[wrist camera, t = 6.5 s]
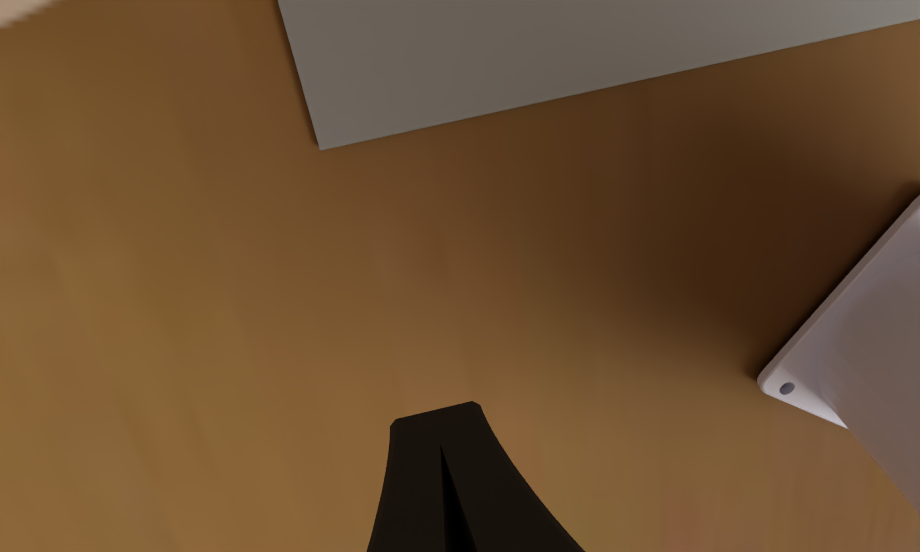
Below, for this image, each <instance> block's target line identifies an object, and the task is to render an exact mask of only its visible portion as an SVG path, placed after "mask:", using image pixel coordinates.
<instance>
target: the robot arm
mask: <svg viewBox="0 0 920 552" xmlns="http://www.w3.org/2000/svg"><path fill="white" fill-rule="evenodd" d="M785 383H787V384H785ZM757 384H758V386H759V387H760V389H761V390H762V391H763V392H764V393H765V394H767V395H769V396H772V397H774V398H776V399H779V400H781V401H783V402H786V403H788V404H790V405H793V406H795V407H797V408H800V409H802V410H804V411H807V412H809V413H811V414H814V415H816V416H819V417H821V418H823V419H826V420H828V421H830V422H833V423H835V424H837V425H840V426H842V427H844V428H847V429H849V430H850V431H851V433H852V434H853V435H854V436H855V437H856V439H857V440H858V441H859V442H860V443H861V445H862V446H863V447H864V448H865V450H866V451H867V452H868V453H869V454H870V456H871V457H872V458H873V459H874V460H875V462H876V463H877V464H878V465H879V466H880V468H881V469H882V470H883V471H884V473H885V474H886V475H887V476H888V477H889V479H890V480H891V481H892V482H893V483H894V485H895V486H896V487H897V488H898V489H899V491H900V492H901V493H902V494H903V496H904V497H905V498H906V499H907V500H908V502H909V503H910V504H911V505H912V506H913V508H914V509H915V510H916V511H917V512H918V514H919V515H920V195H919V196H918V197H917V198H916V199H915V200H914V201H913V202H912V203H911V204H910V205H909V206H908V208H907V209H906V210H905V211H904V212H903V213H902V214H901V215H900V217H899V218H898V219H897V220H896V221H895V222H894V223H893V224H892V226H891V227H890V228H889V229H888V230H887V231H886V232H885V233H884V235H883V236H882V237H881V238H880V239H879V240H878V241H877V242H876V243H875V245H874V246H873V247H872V248H871V249H870V250H869V251H868V252H867V254H866V255H865V256H864V257H863V258H862V259H861V260H860V261H859V263H858V264H857V265H856V266H855V267H854V268H853V269H852V270H851V272H850V273H849V274H848V275H847V276H846V277H845V278H844V279H843V281H842V282H841V283H840V284H839V285H838V286H837V287H836V288H835V290H834V291H833V292H832V293H831V294H830V295H829V296H828V297H827V299H826V300H825V301H824V302H823V303H822V304H821V305H820V306H819V308H818V309H817V310H816V311H815V312H814V313H813V314H812V315H811V317H810V318H809V319H808V320H807V321H806V322H805V323H804V324H803V325H802V327H801V328H800V329H799V330H798V331H797V332H796V333H795V334H794V336H793V337H792V338H791V339H790V340H789V341H788V342H787V343H786V345H785V346H784V347H783V348H782V349H781V350H780V351H779V352H778V354H777V355H776V356H775V357H774V358H773V359H772V360H771V361H770V363H769V364H768V365H767V366H766V367H765V368H764V369H763V370H762V372H761V373H760V374H759V376H758V378H757ZM784 384H785V385H784ZM782 385H784V386H782ZM781 386H782V387H781ZM367 552H585V551H584V550H583V549H582V548H581V547H580V546H579V545H578V544H577V542H576V541H575V540H574V539H573V538H572V537H571V536H570V535H569V534H568V532H567V531H566V530H565V529H564V528H563V527H562V525H561V524H560V523H559V522H558V521H557V520H556V519H555V517H554V516H553V515H552V514H551V513H550V511H549V510H548V509H547V508H546V507H545V505H544V504H543V503H542V502H541V500H540V499H539V498H538V496H537V495H536V494H535V493H534V491H533V490H532V489H531V487H530V486H529V485H528V483H527V482H526V481H525V479H524V478H523V477H522V475H521V474H520V473H519V471H518V470H517V468H516V467H515V466H514V464H513V463H512V461H511V460H510V458H509V457H508V455H507V454H506V452H505V451H504V449H503V448H502V446H501V444H500V443H499V441H498V440H497V438H496V436H495V435H494V433H493V431H492V429H491V427H490V426H489V424H488V422H487V420H486V417H485V415H484V413H483V411H482V408H481V406H480V405H479V404H477V403H475V402H473V401H471V402H466V403H462V404H458V405H454V406H449V407H445V408H441V409H437V410H433V411H428V412H424V413H420V414H416V415H412V416H407V417H403V418H399V419H396V420H395V421H394V422H393V423H392V425H391V426H390V443H389V452H388V460H387V467H386V472H385V478H384V483H383V489H382V493H381V498H380V502H379V506H378V510H377V514H376V519H375V523H374V527H373V531H372V535H371V538H370V542H369V545H368V549H367Z"/></svg>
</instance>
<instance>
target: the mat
mask: <svg viewBox="0 0 920 552" xmlns="http://www.w3.org/2000/svg"><path fill="white" fill-rule="evenodd" d="M278 3H279V7H280V10H281V14H282V17H283V21H284V25H285V28H286V32H287V35H288V39H289V42H290V46H291V49H292V53H293V56H294V60H295V63H296V67H297V70H298V74H299V78H300V81H301V85H302V88H303V92H304V95H305V99H306V102H307V106H308V109H309V113H310V116H311V120H312V124H313V127H314V131H315V134H316V138H317V141H318V145H319V148H320V151H321V150H326V149H330V148H335V147H339V146H344V145H348V144H353V143H357V142H362V141H366V140H371V139H376V138H380V137H385V136H389V135H394V134H398V133H403V132H407V131H412V130H417V129H421V128H426V127H430V126H435V125H439V124H444V123H448V122H453V121H457V120H462V119H467V118H471V117H476V116H480V115H485V114H489V113H494V112H498V111H503V110H508V109H512V108H517V107H521V106H526V105H530V104H535V103H539V102H544V101H548V100H553V99H558V98H562V97H567V96H571V95H576V94H580V93H585V92H589V91H594V90H599V89H603V88H608V87H612V86H617V85H621V84H626V83H630V82H635V81H639V80H644V79H649V78H653V77H658V76H662V75H667V74H671V73H676V72H680V71H685V70H690V69H694V68H699V67H703V66H708V65H712V64H717V63H721V62H726V61H730V60H735V59H740V58H744V57H749V56H753V55H758V54H762V53H767V52H771V51H776V50H781V49H785V48H790V47H794V46H799V45H803V44H808V43H812V42H817V41H821V40H826V39H831V38H835V37H840V36H844V35H849V34H853V33H858V32H862V31H867V30H872V29H876V28H881V27H885V26H890V25H894V24H899V23H903V22H908V21H912V20H917V19H920V0H278Z"/></svg>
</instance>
